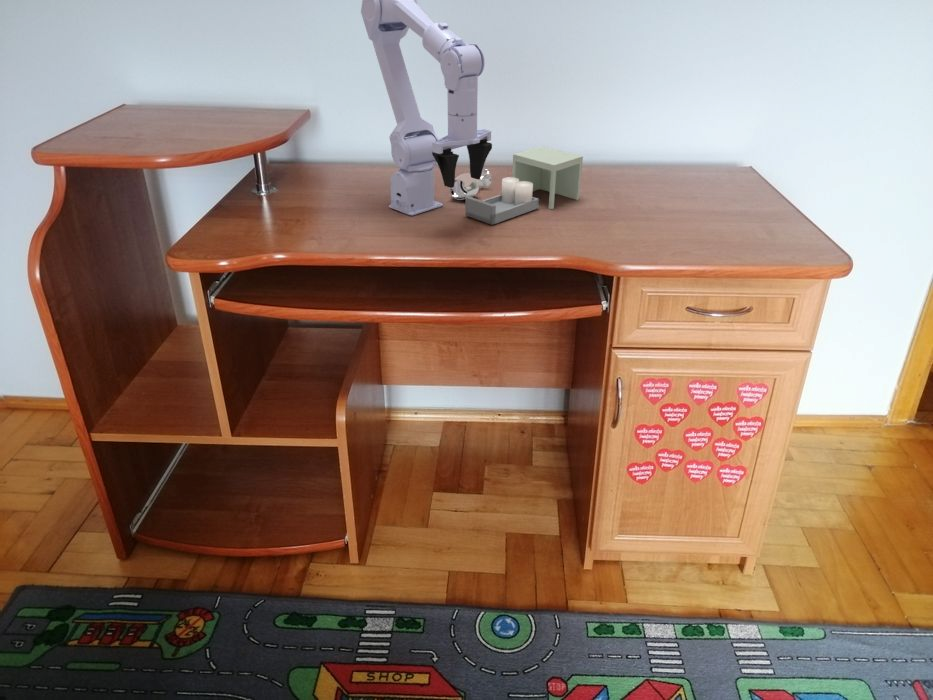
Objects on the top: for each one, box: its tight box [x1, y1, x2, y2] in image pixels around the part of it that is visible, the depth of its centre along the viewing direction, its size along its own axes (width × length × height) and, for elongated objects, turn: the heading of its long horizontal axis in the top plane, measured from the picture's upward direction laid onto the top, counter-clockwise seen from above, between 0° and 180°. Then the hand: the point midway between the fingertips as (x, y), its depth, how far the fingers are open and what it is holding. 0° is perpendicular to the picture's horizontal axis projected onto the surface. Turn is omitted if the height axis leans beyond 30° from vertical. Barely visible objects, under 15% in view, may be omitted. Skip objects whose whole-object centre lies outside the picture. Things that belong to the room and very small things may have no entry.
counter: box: [511, 145, 584, 210], centre depth 160 cm, size 10×12×10 cm
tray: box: [464, 176, 540, 226], centre depth 152 cm, size 15×8×6 cm, turn 134°
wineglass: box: [449, 167, 493, 201], centre depth 163 cm, size 6×6×12 cm
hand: (462, 182), depth 142 cm, fingers open, 7 cm apart
